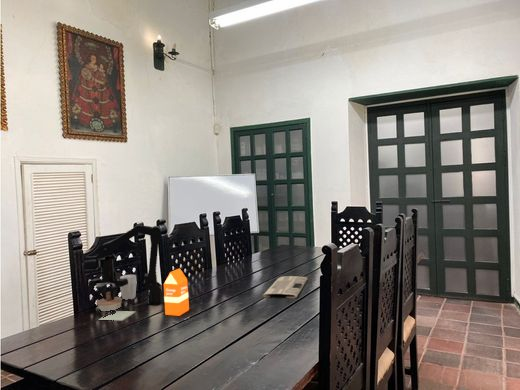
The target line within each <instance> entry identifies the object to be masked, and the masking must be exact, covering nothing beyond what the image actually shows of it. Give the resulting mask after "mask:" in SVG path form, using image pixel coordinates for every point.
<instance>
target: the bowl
mask: <svg viewBox="0 0 520 390" xmlns="http://www.w3.org/2000/svg"><path fill="white" fill-rule="evenodd" d="M120 307H121V308H122V301H121V302H119V303H116V304H112V305H97V309H98V308H99V309H100V310H101V311H110V310H115V309H118V308H120ZM121 308H120V309H121ZM118 310H119V309H118ZM115 311H116V310H115Z"/></svg>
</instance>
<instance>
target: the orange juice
mask: <svg viewBox="0 0 520 390" xmlns="http://www.w3.org/2000/svg"><path fill="white" fill-rule="evenodd" d="M188 284H189V283H188V278H187V277H186V276H185V274H184V272H183V271H182V270H181V268H177V269H175V270H173V271H170V272H169V274H168V276H167V277H166V280H165V281H164V283H163V300H165V301H164V312H165V316H167V315H168V316H179V317H180V316H181V315H183V314H185V313H186V312H188V311H189V310H190V304H189V303H190V302H189V287H188Z"/></svg>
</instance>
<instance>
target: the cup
mask: <svg viewBox="0 0 520 390" xmlns="http://www.w3.org/2000/svg"><path fill="white" fill-rule="evenodd" d="M125 278H126V279H127V280H128V284H127V285H125V286H122V287H119V288H120V293H121V298H122V300H123V299H125V300H124V301H129V300H128V299H131V300H134V299H135V298H136V294H137V293H136V291H137V274H125V275H121V276H120V279H125Z"/></svg>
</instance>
